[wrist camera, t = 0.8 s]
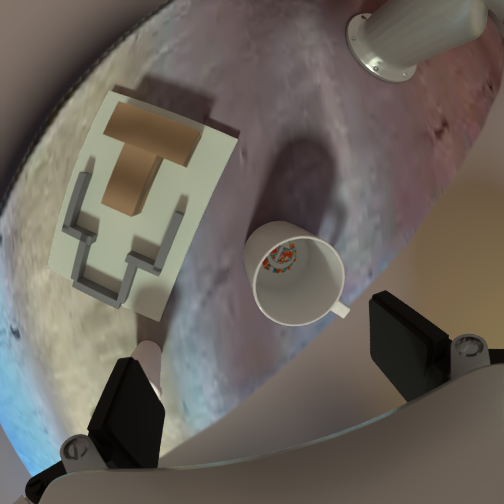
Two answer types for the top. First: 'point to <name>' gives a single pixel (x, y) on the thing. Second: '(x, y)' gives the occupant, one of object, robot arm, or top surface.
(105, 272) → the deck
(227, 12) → the top surface
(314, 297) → the mug
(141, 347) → the smoothie
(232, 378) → the top surface
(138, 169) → the t block
